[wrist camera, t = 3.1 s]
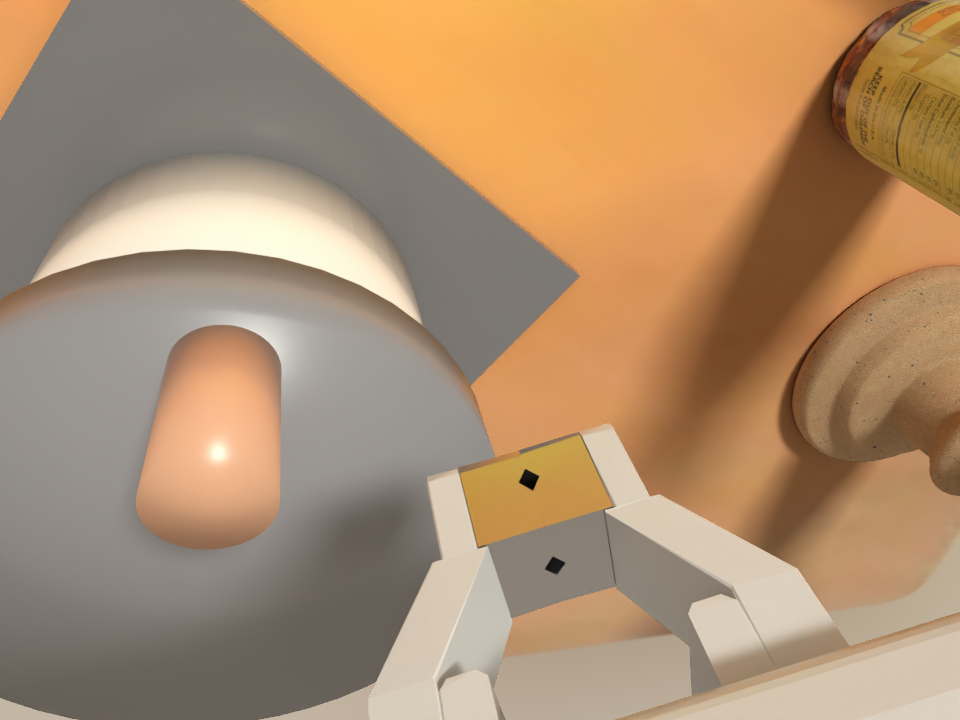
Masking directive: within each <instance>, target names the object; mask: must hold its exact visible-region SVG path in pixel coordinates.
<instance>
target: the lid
mask: <svg viewBox="0 0 960 720" xmlns="http://www.w3.org/2000/svg"><path fill="white" fill-rule="evenodd" d="M491 458H495V455H494V452H493V449H492V446H491V443H490V440H489V437H488V434H487V431H486V428H485V425H484V422H483V418H482V415H481V412H480V409H479V406H478V403H477V400H476V397H475V395H474V393H473V391H472V389H471V387H470V385H469V383H468V381H467V379H466V377H465V375H464V373H463V371H462V370H461V369H460V367H459V366H458V365H457V363H456V362H455V361H454V359H453V358H452V357H451V355H450V354H449V352H448V351H447V350H446V348H445V347H444V346H443V345H442V344H441V343H440V342H439V341H438V340H437V339H436V338H435V337H434V336H433V335H432V334H431V333H430V332H429V331H428V330H427V329H426V328H425V327H424V326H423V325H422V324H420V323H419V322H418V321H416V320H415V319H414V318H412V317H411V316H410V315H408V314H407V313H405V312H404V311H403V310H401V309H400V308H399V307H397V306H396V305H395V304H393V303H392V302H390V301H388V300H386V299H384V298H383V297H381V296H379V295H377V294H375V293H374V292H372V291H370V290H368V289H366V288H365V287H363V286H361V285H359V284H356V283H354V282H351V281H349V280H346V279H344V278H341V277H339V276H337V275H334V274H332V273H329V272H327V271H324V270H322V269H318V268H314V267H311V266H307V265H303V264H300V263H296V262H292V261H289V260H285V259H281V258H276V257H270V256H263V255H257V254H250V253H244V252H238V251H222V250H199V249H181V250H166V251H151V252H139V253H134V254H128V255H123V256H118V257H112V258H107V259H101V260H96V261H92V262H89V263H86V264H83V265H79V266H76V267H73V268H70V269H66V270H63V271H60V272H57V273H54V274H51V275H49V276H46V277H44V278H42V279H40V280H38V281H35V282H33V283H31V284H29V285H27V286H25V287H22V288H20V289H18V290H16V291H14V292H12V293H10V294H8V295H7V296H5V297H4V298H2V299H1V300H0V698H2V699H5V700H8V701H11V702H14V703H17V704H20V705H23V706H26V707H29V708H32V709H35V710H39V711H43V712H47V713H51V714H56V715H60V716H64V717H68V718H72V719H79V720H259V719H264V718H269V717H274V716H280V715H283V714H287V713H291V712H295V711H299V710H303V709H307V708H310V707H313V706H316V705H319V704H322V703H325V702H328V701H331V700H334V699H337V698H340V697H343V696H345V695H347V694H350V693H352V692H355V691H357V690H359V689H362V688H364V687H366V686H368V685H371V684H372V683H374V682H376V681H377V679H378V677H379V675H380V673H381V670H382V668H383V666H384V664H385V662H386V660H387V658H388V656H389V653H390V651H391V649H392V647H393V645H394V643H395V641H396V639H397V636H398V634H399V632H400V630H401V628H402V626H403V624H404V622H405V619H406V617H407V615H408V613H409V611H410V609H411V607H412V605H413V602H414V600H415V598H416V596H417V594H418V592H419V590H420V588H421V585H422V583H423V581H424V579H425V577H426V575H427V573H428V571H429V568H430V566H431V564H432V563H433V562H436V561H439V560H441V555H440V550H439V545H438V540H437V535H436V529H435V524H434V519H433V514H432V509H431V503H430V498H429V493H428V488H427V476H431V475H435V474H439V473H442V472H446V471H450V470H453V469H457V468H458V467H462V466H466V465H469V464H473V463H477V462H480V461H484V460H488V459H491ZM458 469H459V468H458Z"/></svg>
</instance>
